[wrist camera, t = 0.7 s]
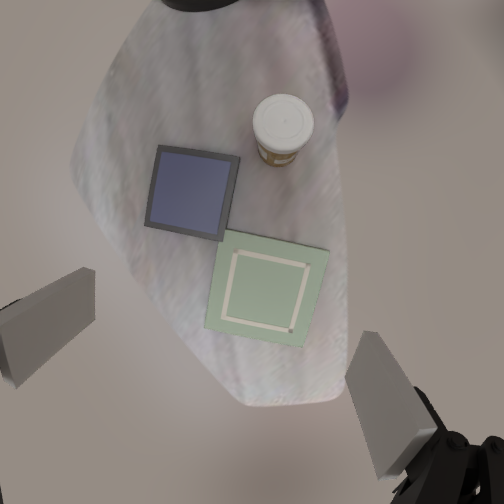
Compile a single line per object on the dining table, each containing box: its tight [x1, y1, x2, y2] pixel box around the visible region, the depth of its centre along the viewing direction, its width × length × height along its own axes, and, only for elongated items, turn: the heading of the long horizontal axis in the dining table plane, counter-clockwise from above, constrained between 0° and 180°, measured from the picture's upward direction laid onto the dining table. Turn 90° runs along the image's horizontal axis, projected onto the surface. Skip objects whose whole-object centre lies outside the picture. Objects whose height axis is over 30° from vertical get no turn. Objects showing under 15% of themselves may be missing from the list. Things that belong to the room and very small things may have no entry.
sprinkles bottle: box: [252, 94, 314, 167], centre depth 26 cm, size 5×5×13 cm
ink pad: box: [144, 145, 240, 242], centre depth 33 cm, size 10×10×1 cm
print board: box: [204, 229, 330, 348], centre depth 35 cm, size 13×13×1 cm
